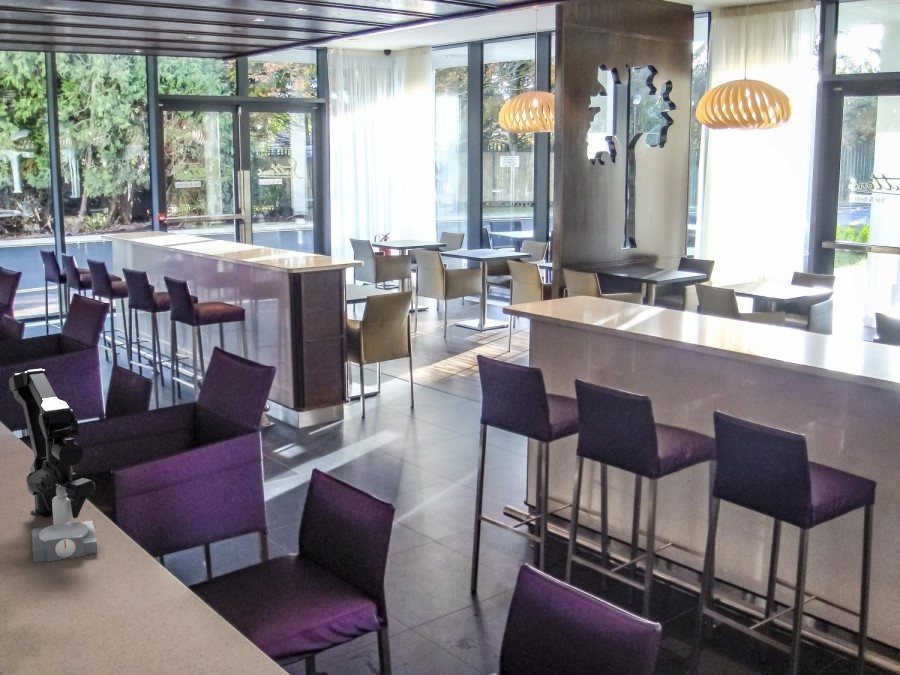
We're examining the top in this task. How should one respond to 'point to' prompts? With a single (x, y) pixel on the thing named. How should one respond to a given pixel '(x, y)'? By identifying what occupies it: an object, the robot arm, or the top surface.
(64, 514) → the eye dropper bottle
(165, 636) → the top surface
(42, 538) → the dial scale
